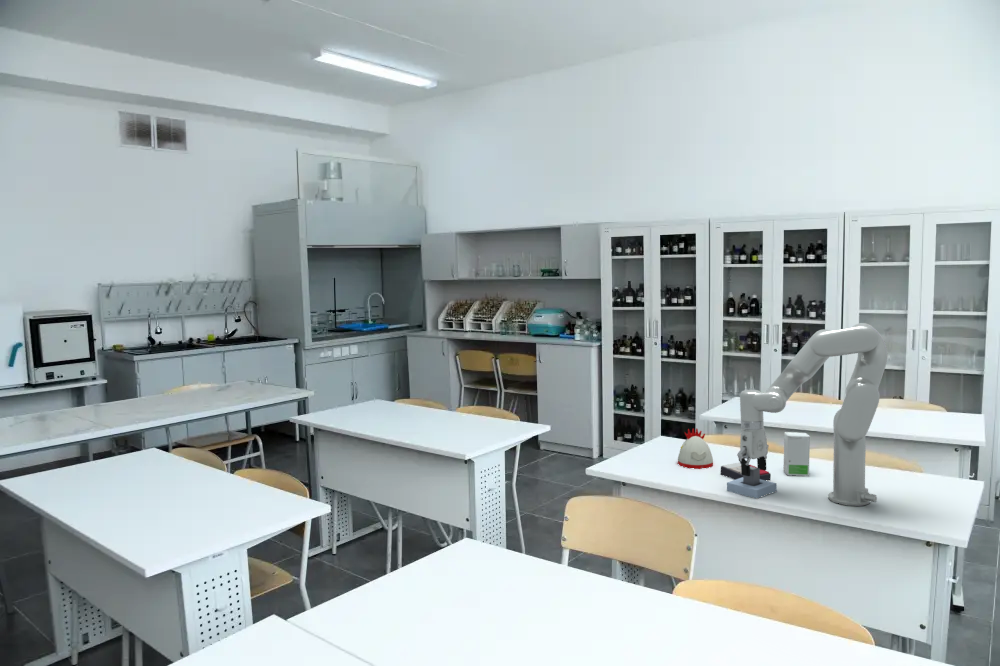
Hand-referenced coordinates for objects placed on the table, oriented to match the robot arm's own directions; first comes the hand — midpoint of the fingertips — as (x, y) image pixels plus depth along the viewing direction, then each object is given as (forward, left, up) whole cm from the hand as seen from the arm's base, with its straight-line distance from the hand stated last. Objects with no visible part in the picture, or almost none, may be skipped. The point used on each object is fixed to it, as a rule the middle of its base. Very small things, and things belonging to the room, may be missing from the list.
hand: (754, 472), depth 242 cm
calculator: (+12, -12, -8) cm, 19 cm away
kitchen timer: (+36, -14, -7) cm, 39 cm away
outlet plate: (+1, 0, -7) cm, 7 cm away
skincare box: (+2, -31, -7) cm, 31 cm away
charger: (+1, 0, -7) cm, 7 cm away
